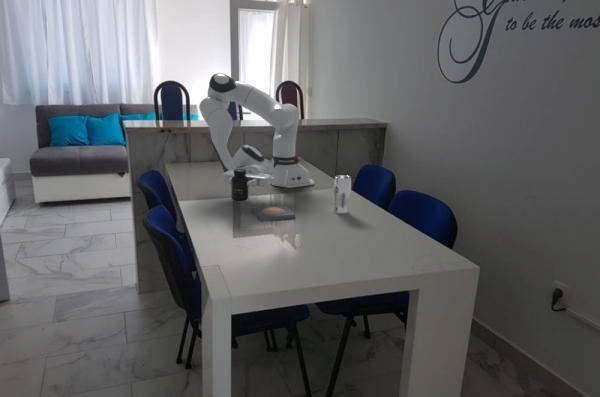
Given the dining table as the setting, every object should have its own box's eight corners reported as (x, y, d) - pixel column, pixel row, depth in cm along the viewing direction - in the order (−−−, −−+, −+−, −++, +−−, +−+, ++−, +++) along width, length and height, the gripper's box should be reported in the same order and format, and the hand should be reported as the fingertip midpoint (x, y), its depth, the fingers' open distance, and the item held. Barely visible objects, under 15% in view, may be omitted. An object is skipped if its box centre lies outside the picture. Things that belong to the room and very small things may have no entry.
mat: (284, 208, 197) (284, 204, 197) (295, 218, 186) (295, 214, 185) (252, 211, 192) (252, 207, 192) (260, 221, 181) (260, 217, 180)
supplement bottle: (234, 202, 184) (234, 172, 181) (229, 197, 190) (228, 168, 187) (251, 200, 187) (250, 170, 184) (244, 195, 193) (244, 167, 190)
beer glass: (351, 211, 197) (353, 176, 192) (346, 215, 190) (348, 179, 186) (336, 208, 199) (337, 174, 195) (330, 213, 193) (331, 177, 189)
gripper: (276, 185, 196) (263, 193, 184) (231, 180, 202) (216, 188, 190) (276, 170, 194) (263, 177, 182) (231, 166, 201) (215, 173, 188)
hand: (238, 183), depth 186 cm, fingers closed on supplement bottle, 7 cm apart
